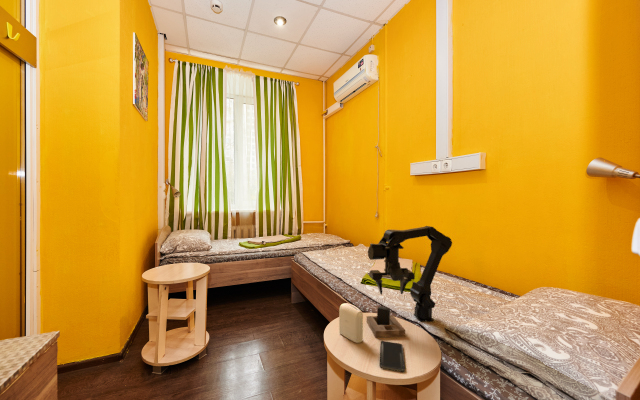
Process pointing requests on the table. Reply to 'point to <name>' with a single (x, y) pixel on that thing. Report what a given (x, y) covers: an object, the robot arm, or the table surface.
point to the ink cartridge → (383, 315)
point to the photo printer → (351, 322)
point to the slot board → (385, 328)
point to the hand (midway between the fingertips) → (391, 294)
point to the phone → (392, 356)
